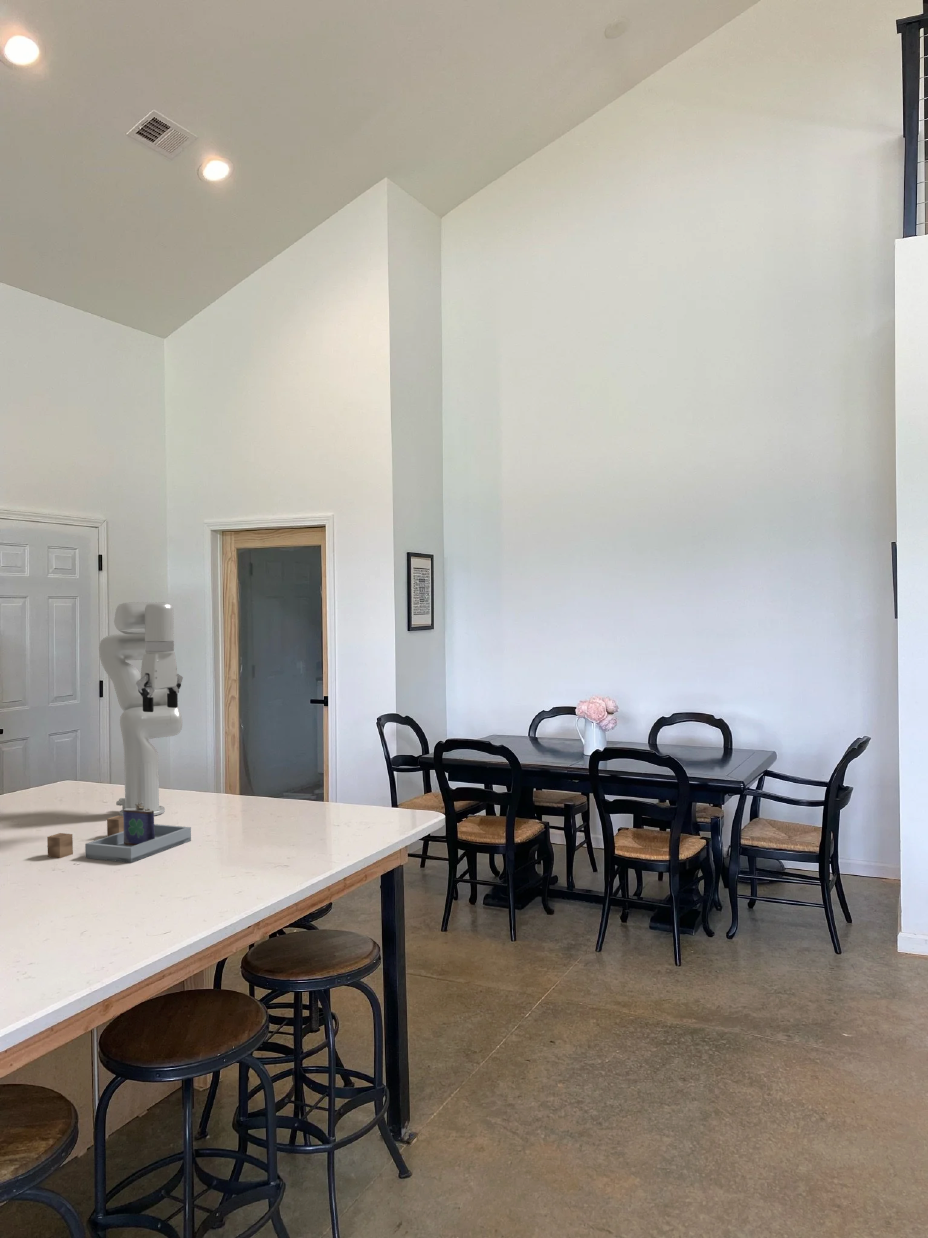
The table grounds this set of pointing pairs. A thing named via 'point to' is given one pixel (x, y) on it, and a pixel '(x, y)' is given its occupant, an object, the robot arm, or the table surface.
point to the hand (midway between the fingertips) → (160, 709)
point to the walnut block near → (60, 845)
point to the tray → (118, 851)
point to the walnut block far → (115, 825)
